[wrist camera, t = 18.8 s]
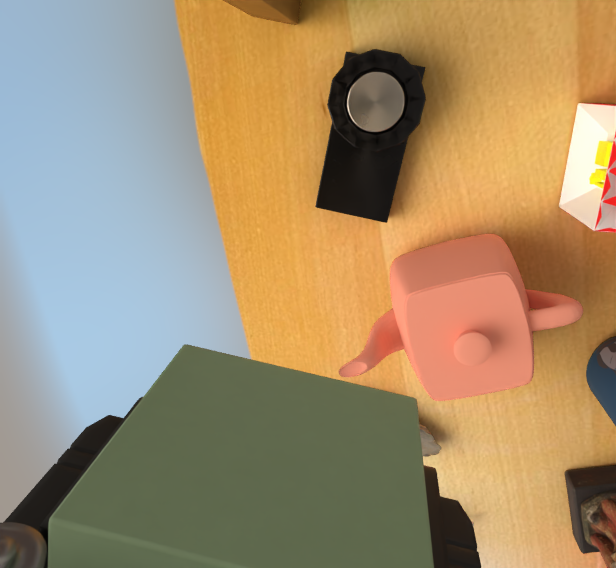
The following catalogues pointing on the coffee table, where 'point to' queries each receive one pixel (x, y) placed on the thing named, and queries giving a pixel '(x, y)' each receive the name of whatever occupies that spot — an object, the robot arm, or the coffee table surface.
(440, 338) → the teapot
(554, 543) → the coffee table surface
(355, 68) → the control block
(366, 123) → the knob
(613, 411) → the soda can
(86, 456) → the robot arm
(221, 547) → the block
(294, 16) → the post
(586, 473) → the sculpture
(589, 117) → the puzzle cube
